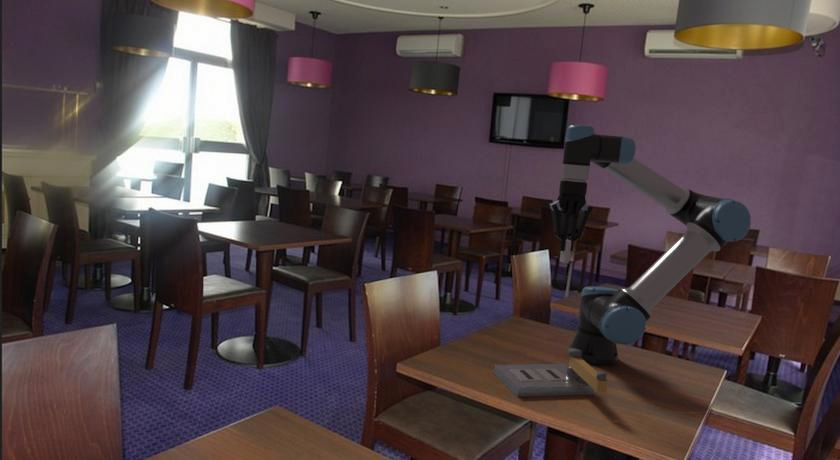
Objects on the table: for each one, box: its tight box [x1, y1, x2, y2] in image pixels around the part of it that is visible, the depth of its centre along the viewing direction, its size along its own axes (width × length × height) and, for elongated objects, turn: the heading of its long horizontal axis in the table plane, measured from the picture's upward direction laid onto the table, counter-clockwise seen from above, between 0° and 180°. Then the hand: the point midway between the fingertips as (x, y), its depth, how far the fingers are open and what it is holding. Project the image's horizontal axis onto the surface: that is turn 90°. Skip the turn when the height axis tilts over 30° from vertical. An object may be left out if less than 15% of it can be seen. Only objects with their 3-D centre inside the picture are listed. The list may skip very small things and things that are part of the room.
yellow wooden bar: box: [567, 348, 608, 393], centre depth 159 cm, size 20×4×5 cm, turn 8°
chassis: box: [493, 363, 594, 398], centre depth 165 cm, size 22×16×5 cm
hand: (564, 262), depth 173 cm, fingers closed
